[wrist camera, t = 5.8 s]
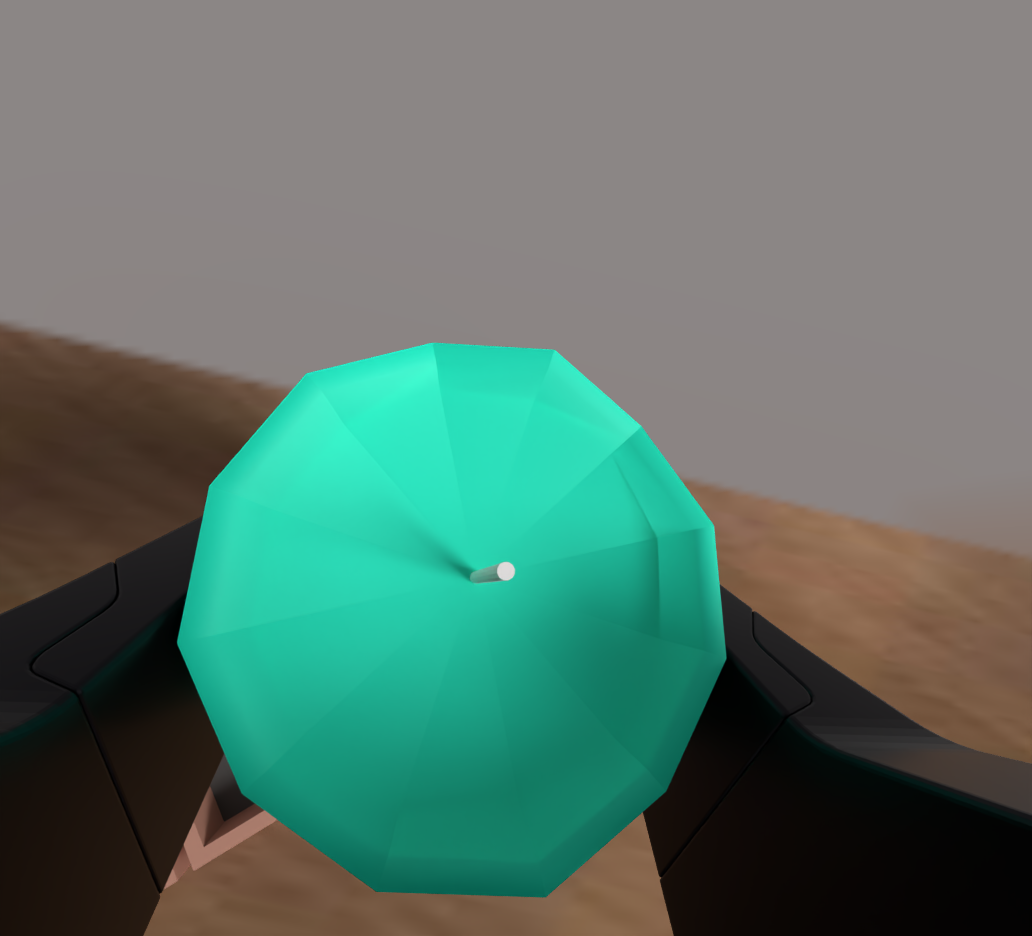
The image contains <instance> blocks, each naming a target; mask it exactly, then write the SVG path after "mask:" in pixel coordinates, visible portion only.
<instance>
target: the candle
mask: <svg viewBox="0 0 1032 936" xmlns="http://www.w3.org/2000/svg"><path fill="white" fill-rule="evenodd" d="M177 644H178V647H179V649H180V651H181V654H182V656H183V658H184V661H185V663H186V665H187V668H188V670H189V672H190V675H191V677H192V679H193V682H194V684H195V686H196V689H197V691H198V693H199V696H200V698H201V700H202V703H203V705H204V707H205V709H206V712H207V714H208V716H209V719H210V721H211V723H212V726H213V728H214V730H215V733H216V735H217V737H218V740H219V742H220V744H221V747H222V749H223V751H224V754H225V756H226V758H227V761H228V763H229V765H230V768H231V770H232V772H233V775H234V777H235V779H236V782H237V784H238V786H239V789H240V791H241V793H242V794H243V795H244V796H245V797H247V798H248V799H250V800H251V801H252V802H254V803H255V804H256V805H258V806H259V807H261V808H262V809H263V810H265V811H266V812H267V813H269V814H270V815H272V816H273V817H274V818H276V819H277V820H278V821H280V822H281V823H283V824H284V825H285V826H287V827H288V828H289V829H291V830H292V831H294V832H295V833H296V834H298V835H299V836H300V837H302V838H303V839H305V840H306V841H307V842H309V843H310V844H311V845H313V846H314V847H316V848H317V849H318V850H320V851H321V852H322V853H324V854H325V855H327V856H328V857H329V858H331V859H332V860H333V861H335V862H336V863H338V864H339V865H340V866H342V867H343V868H344V869H346V870H347V871H349V872H350V873H351V874H353V875H354V876H355V877H357V878H358V879H360V880H361V881H362V882H364V883H365V884H366V885H368V886H369V887H371V888H372V889H373V890H375V891H376V892H397V893H427V894H457V895H487V896H518V897H547V896H548V895H549V894H550V893H551V892H552V891H553V890H555V889H556V888H557V887H558V886H559V885H560V884H561V883H563V882H564V881H565V880H566V879H567V878H568V877H569V876H571V875H572V874H573V873H574V872H575V871H576V870H577V869H578V868H580V867H581V866H582V865H583V864H584V863H585V862H586V861H588V860H589V859H590V858H591V857H592V856H593V855H594V854H596V853H597V852H598V851H599V850H600V849H601V848H602V847H604V846H605V845H606V844H607V843H608V842H609V841H610V840H611V839H613V838H614V837H615V836H616V835H617V834H618V833H619V832H621V831H622V830H623V829H624V828H625V827H626V826H627V825H629V824H630V823H631V822H632V821H633V820H634V819H635V818H636V817H638V816H639V815H640V814H641V813H642V812H643V811H644V810H646V809H647V808H648V807H649V806H650V805H651V804H652V803H654V802H655V801H656V800H657V799H658V798H659V797H660V796H661V795H663V794H664V793H665V792H666V791H667V788H668V786H669V784H670V782H671V780H672V777H673V775H674V773H675V771H676V769H677V766H678V764H679V762H680V760H681V758H682V755H683V753H684V751H685V749H686V747H687V744H688V742H689V740H690V738H691V736H692V733H693V731H694V729H695V727H696V725H697V722H698V720H699V718H700V716H701V714H702V711H703V709H704V707H705V705H706V703H707V700H708V698H709V696H710V694H711V691H712V689H713V687H714V685H715V683H716V680H717V678H718V676H719V674H720V672H721V669H722V667H723V665H724V663H725V661H726V648H725V637H724V627H723V616H722V606H721V595H720V585H719V574H718V564H717V553H716V543H715V532H714V525H713V523H712V522H711V521H710V519H709V518H708V517H707V515H706V514H705V512H704V511H703V510H702V508H701V507H700V506H699V504H698V503H697V502H696V500H695V499H694V497H693V496H692V495H691V493H690V492H689V491H688V489H687V488H686V487H685V485H684V484H683V482H682V481H681V480H680V478H679V477H678V476H677V474H676V473H675V471H674V470H673V469H672V467H671V466H670V465H669V463H668V462H667V461H666V459H665V458H664V456H663V455H662V454H661V452H660V451H659V450H658V448H657V447H656V446H655V444H654V443H653V442H652V440H651V439H650V437H649V436H648V435H647V433H646V432H645V431H644V429H643V428H642V426H641V425H639V424H638V423H637V422H636V421H635V420H634V419H633V418H631V417H630V416H629V415H628V414H627V413H626V412H625V411H623V410H622V409H621V408H620V407H619V406H618V405H617V404H616V403H614V402H613V401H612V400H611V399H610V398H609V397H608V396H606V395H605V394H604V393H603V392H602V391H601V390H600V389H598V388H597V387H596V386H595V385H594V384H593V383H592V382H591V381H589V380H588V379H587V378H586V377H585V376H584V375H583V374H581V373H580V372H579V371H578V370H577V369H576V368H575V367H574V366H573V365H571V364H570V363H569V362H568V361H567V360H566V359H565V358H563V357H562V356H561V355H560V354H559V353H558V352H557V351H555V350H550V349H533V348H516V347H499V346H481V345H464V344H447V343H429V344H425V345H421V346H417V347H413V348H409V349H405V350H400V351H396V352H392V353H388V354H384V355H380V356H376V357H372V358H368V359H364V360H359V361H355V362H351V363H347V364H343V365H339V366H335V367H331V368H327V369H323V370H318V371H314V372H310V373H307V374H305V376H304V377H303V378H302V379H301V380H300V381H299V383H298V384H297V385H296V386H295V387H294V388H293V389H292V391H291V392H290V393H289V394H288V395H287V396H286V398H285V399H284V400H283V401H282V402H281V403H280V405H279V406H278V407H277V408H276V409H275V410H274V411H273V413H272V414H271V415H270V416H269V417H268V418H267V420H266V421H265V422H264V423H263V424H262V425H261V427H260V428H259V429H258V430H257V431H256V432H255V433H254V435H253V436H252V437H251V438H250V439H249V440H248V442H247V443H246V444H245V445H244V446H243V447H242V449H241V450H240V451H239V452H238V453H237V454H236V455H235V457H234V458H233V459H232V460H231V461H230V462H229V464H228V465H227V466H226V467H225V468H224V469H223V471H222V472H221V473H220V474H219V475H218V476H217V477H216V479H215V480H214V481H213V482H212V483H211V484H210V486H209V490H208V495H207V499H206V504H205V509H204V514H203V519H202V524H201V529H200V533H199V538H198V543H197V548H196V553H195V558H194V563H193V568H192V572H191V577H190V582H189V587H188V592H187V597H186V602H185V606H184V611H183V616H182V621H181V626H180V631H179V636H178V640H177Z"/></svg>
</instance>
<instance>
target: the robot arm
mask: <svg viewBox="0 0 1032 936" xmlns="http://www.w3.org/2000/svg"><path fill="white" fill-rule="evenodd" d="M202 519H203V516H202V517H200V518H198V519H196V520H194V521H192V522H190V523H188V524H186V525H184V526H182V527H180V528H178V529H176V530H174V531H172V532H170V533H168V534H166V535H164V536H162V537H160V538H158V539H156V540H154V541H152V542H150V543H148V544H146V545H144V546H142V547H140V548H138V549H136V550H134V551H132V552H130V553H128V554H126V555H124V556H122V557H120V558H118V559H116V561H115V563H113V562H110V563H108V564H106V565H104V566H102V567H100V568H98V569H96V570H94V571H92V572H90V573H88V574H86V575H84V576H82V577H79V578H77V579H75V580H73V581H71V582H69V583H67V584H65V585H63V586H61V587H59V588H57V589H54V590H52V591H50V592H48V593H46V594H44V595H42V596H40V597H38V598H35V599H33V600H31V601H29V602H26V603H24V604H22V605H20V606H17V607H15V608H13V609H11V610H8V611H6V612H4V613H2V614H0V936H143V935H144V933H145V931H146V928H147V926H148V924H149V922H150V919H151V917H152V915H153V913H154V910H155V908H156V906H157V904H158V901H159V899H160V893H161V892H162V891H163V890H164V887H165V885H166V883H167V881H168V878H169V876H170V874H171V872H172V869H173V867H174V865H175V863H176V860H177V858H178V856H179V854H180V852H181V849H182V847H183V845H184V843H185V840H186V838H187V836H188V834H189V831H190V829H191V827H192V825H193V822H194V820H195V818H196V816H197V813H198V811H199V809H200V807H201V805H202V802H203V800H204V798H205V796H206V793H207V791H208V789H209V787H210V784H211V782H212V780H213V778H214V775H215V773H216V771H217V769H218V767H219V764H220V762H221V760H222V758H223V755H224V751H223V749H222V747H221V744H220V742H219V740H218V737H217V735H216V733H215V730H214V728H213V726H212V723H211V721H210V719H209V716H208V714H207V712H206V709H205V707H204V705H203V703H202V700H201V698H200V696H199V693H198V691H197V689H196V686H195V684H194V682H193V679H192V677H191V675H190V672H189V670H188V668H187V665H186V663H185V661H184V658H183V656H182V654H181V651H180V649H179V647H178V644H177V640H178V636H179V631H180V626H181V621H182V616H183V611H184V606H185V602H186V597H187V592H188V587H189V582H190V577H191V572H192V568H193V563H194V558H195V553H196V548H197V543H198V538H199V533H200V529H201V524H202ZM719 585H720V584H719ZM720 595H721V606H722V616H723V627H724V637H725V648H726V661H725V663H724V665H723V667H722V669H721V672H720V674H719V676H718V678H717V680H716V683H715V685H714V687H713V689H712V691H711V694H710V696H709V698H708V700H707V703H706V705H705V707H704V709H703V711H702V714H701V716H700V718H699V720H698V722H697V725H696V727H695V729H694V731H693V733H692V736H691V738H690V740H689V742H688V744H687V747H686V749H685V751H684V753H683V755H682V758H681V760H680V762H679V764H678V766H677V769H676V771H675V773H674V775H673V777H672V780H671V782H670V784H669V786H668V788H667V791H666V792H665V793H664V794H663V795H661V796H660V797H659V798H658V799H657V800H656V801H655V802H654V803H652V804H651V805H650V806H649V807H648V808H647V809H646V810H644V811H643V815H644V819H645V822H646V826H647V830H648V834H649V838H650V842H651V846H652V850H653V854H654V858H655V862H656V866H657V870H658V874H659V876H660V877H661V879H660V883H661V887H662V891H663V895H664V899H665V903H666V907H667V911H668V915H669V919H670V923H671V927H672V931H673V935H674V936H1032V764H1030V763H1026V762H1022V761H1017V760H1013V759H1009V758H1005V757H1001V756H996V755H992V754H988V753H984V752H980V751H977V750H974V749H971V748H968V747H965V746H962V745H959V744H957V743H954V742H952V741H950V740H948V739H945V738H943V737H941V736H939V735H937V734H935V733H933V732H931V731H929V730H927V729H926V728H924V727H922V726H921V725H919V724H918V723H916V722H914V721H913V720H911V719H910V718H908V717H907V716H905V715H904V714H902V713H901V712H899V711H898V710H896V709H895V708H893V707H892V706H890V705H889V704H887V703H886V702H884V701H883V700H881V699H880V698H879V697H877V696H876V695H874V694H873V693H871V692H870V691H868V690H867V689H865V688H864V687H862V686H861V685H859V684H858V683H856V682H855V681H853V680H852V679H850V678H849V677H847V676H846V675H844V674H843V673H841V672H840V671H838V670H837V669H835V668H834V667H832V666H831V665H829V664H828V663H827V662H825V661H824V660H822V659H821V658H819V657H818V656H816V655H815V654H813V653H812V652H811V651H809V650H808V649H806V648H805V647H803V646H802V645H800V644H799V643H798V642H796V641H795V640H794V639H792V638H791V637H789V636H788V635H787V634H785V633H784V632H783V631H781V630H780V629H778V628H777V627H776V626H774V625H773V624H772V623H770V622H769V621H768V620H766V619H765V618H764V617H762V616H761V615H760V614H759V613H757V612H755V611H754V612H752V608H750V607H749V606H748V605H746V604H745V603H744V602H742V601H741V600H740V599H739V598H737V597H736V596H735V595H733V594H732V593H731V592H729V591H728V590H727V589H725V588H724V587H723V586H721V585H720Z"/></svg>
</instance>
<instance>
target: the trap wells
mask: <svg viewBox="0 0 1032 936" xmlns="http://www.w3.org/2000/svg"><path fill="white" fill-rule="evenodd" d="M276 820H277V819H276V818H274V817H273V816H272V815H270V814H269V813H267V812H266V811H265V810H263V809H262V808H261V807H259V806H258V805H256V804H255V803H254V802H252V801H251V800H250V799H248V798H247V797H245V796H244V795H243V794H242V793H241V791H240V789H239V786H238V784H237V782H236V779H235V777H234V775H233V772H232V770H231V768H230V765H229V763H228V761H227V758H226V756H225V754H224V755H223V758H222V760H221V762H220V764H219V767H218V769H217V771H216V773H215V775H214V778H213V780H212V782H211V784H210V787H209V789H208V791H207V793H206V796H205V798H204V800H203V802H202V805H201V807H200V809H199V811H198V813H197V816H196V818H195V820H194V822H193V825H192V827H191V829H190V831H189V834H188V836H187V838H186V840H185V843H184V845H183V847H182V849H181V852H180V854H179V856H178V858H177V860H176V863H175V865H174V867H173V869H172V872H171V874H170V876H169V878H168V881H167V883H166V885H165V887H164V889H165V888H167V887H169V886H170V885H172V884H173V883H175V882H177V881H178V880H179V879H180V877H181V876H182V875H183V874H184V872H185V871H186V870H187V869H188V867H189V866H190V865H191V866H192V869H193V871H195V870H196V869H198V868H200V867H201V866H203V865H204V864H206V863H208V862H209V861H211V860H213V859H214V858H216V857H218V856H219V855H221V854H222V853H224V852H226V851H227V850H229V849H231V848H232V847H234V846H235V845H237V844H239V843H240V842H242V841H244V840H245V839H247V838H249V837H250V836H252V835H253V834H255V833H257V832H258V831H260V830H262V829H263V828H265V827H267V826H268V825H270V824H271V823H273V822H275V821H276Z"/></svg>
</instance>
